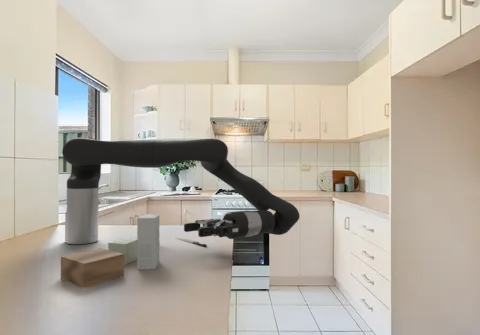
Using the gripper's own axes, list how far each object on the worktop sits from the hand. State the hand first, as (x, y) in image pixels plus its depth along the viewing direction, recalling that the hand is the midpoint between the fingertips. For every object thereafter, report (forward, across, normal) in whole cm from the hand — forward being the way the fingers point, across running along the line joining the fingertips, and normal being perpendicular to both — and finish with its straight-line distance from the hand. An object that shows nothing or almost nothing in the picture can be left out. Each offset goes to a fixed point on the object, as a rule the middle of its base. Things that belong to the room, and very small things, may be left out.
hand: (191, 230), depth 83 cm
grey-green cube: (+15, -8, +7) cm, 19 cm away
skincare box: (+11, 0, +8) cm, 14 cm away
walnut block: (+24, +1, +8) cm, 25 cm away
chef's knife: (-9, -18, +8) cm, 22 cm away
